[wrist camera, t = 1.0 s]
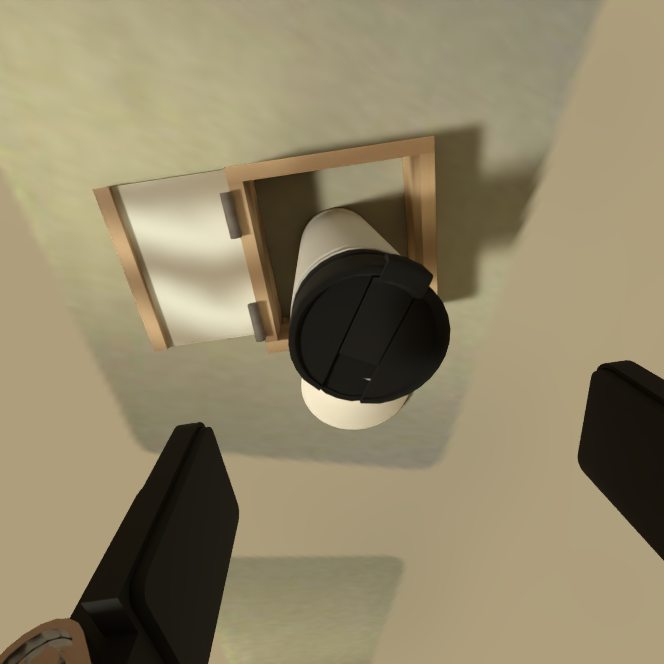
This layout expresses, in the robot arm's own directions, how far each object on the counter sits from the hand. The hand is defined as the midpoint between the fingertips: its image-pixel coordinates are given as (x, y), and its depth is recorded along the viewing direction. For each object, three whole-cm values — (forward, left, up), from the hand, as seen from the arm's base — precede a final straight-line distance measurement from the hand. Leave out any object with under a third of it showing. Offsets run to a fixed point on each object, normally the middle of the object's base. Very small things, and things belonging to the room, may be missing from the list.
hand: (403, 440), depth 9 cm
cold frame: (0, -6, -25) cm, 25 cm away
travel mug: (0, 0, -25) cm, 25 cm away
